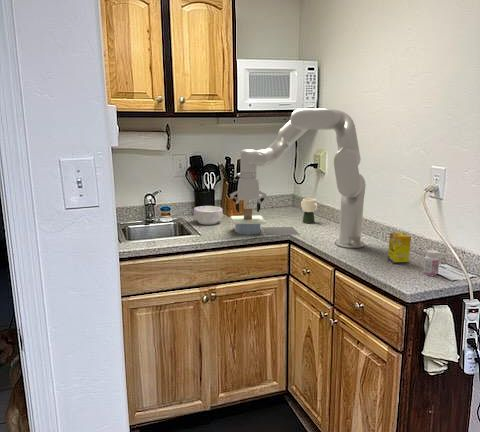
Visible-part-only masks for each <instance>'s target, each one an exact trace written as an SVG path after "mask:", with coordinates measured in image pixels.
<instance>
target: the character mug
mask: <svg viewBox="0 0 480 432" xmlns="http://www.w3.org/2000/svg"><path fill="white" fill-rule="evenodd" d="M300 207H301V209H302V212H304V213H303V217H302V223H304V224H314V223H315V215H314V212H316V211H318V210H319V208H318V207H319V205H318V203H317V199H316V198H308V197H307V198H305V197H304V198H303V199H302V201H301V202H300Z"/></svg>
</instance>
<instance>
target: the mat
mask: <svg viewBox="0 0 480 432" xmlns="http://www.w3.org/2000/svg"><path fill="white" fill-rule="evenodd" d="M260 229H261V230H262V231H263V232H264V234H265V235H266V236H298V235H299V236H300V235H301V234H300V232H298V231H297V229H296V228H294V227H293V226H270V227H269V226H268V227H266V226H265V227H261V226H260Z"/></svg>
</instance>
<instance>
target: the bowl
mask: <svg viewBox="0 0 480 432" xmlns="http://www.w3.org/2000/svg"><path fill="white" fill-rule="evenodd" d="M234 232H235V234H239V235H245V236H246V235H250V236H251V235H258V234H259V233H261V224H234Z"/></svg>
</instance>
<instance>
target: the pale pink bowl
mask: <svg viewBox="0 0 480 432" xmlns="http://www.w3.org/2000/svg"><path fill="white" fill-rule="evenodd" d="M223 210H224V209H223V208H222V207H220V206H214V205H202V206H201V205H200V206H196V207H194V208H193V219H195V220H197V222H198V223H199V224H200V225H206V226H208V225H209V226H211V225H216V224H218V223H219V221H220V220H221V219H222V218H223Z"/></svg>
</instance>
